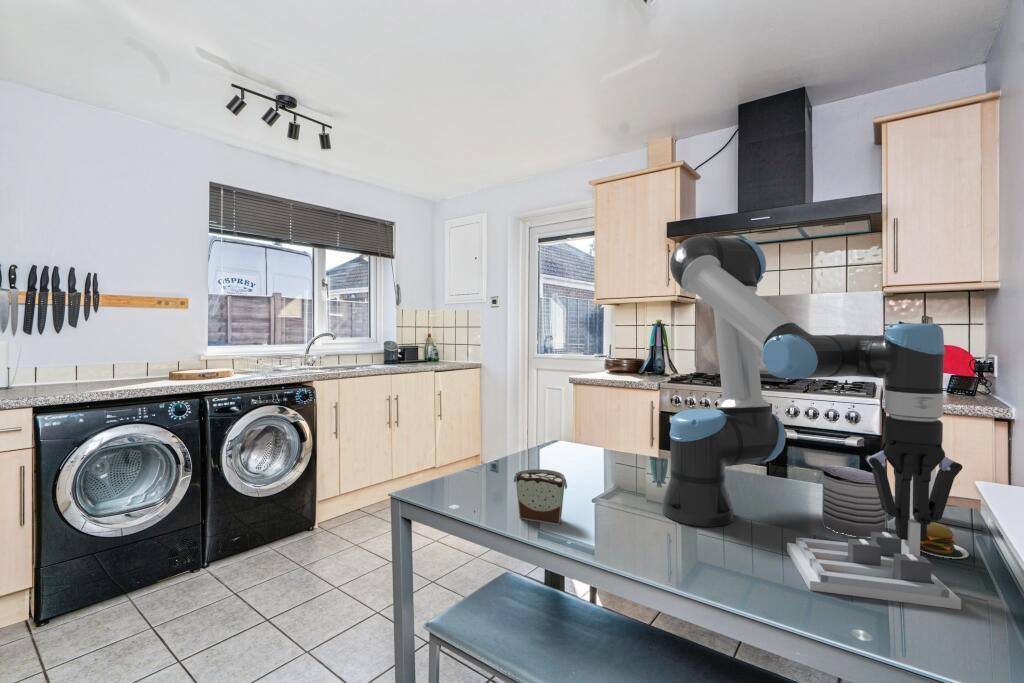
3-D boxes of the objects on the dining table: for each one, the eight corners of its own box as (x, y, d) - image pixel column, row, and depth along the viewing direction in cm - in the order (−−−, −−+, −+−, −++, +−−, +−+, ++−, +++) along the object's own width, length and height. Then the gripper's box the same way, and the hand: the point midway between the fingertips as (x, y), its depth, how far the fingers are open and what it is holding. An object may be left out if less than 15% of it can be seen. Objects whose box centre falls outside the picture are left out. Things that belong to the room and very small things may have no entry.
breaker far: (876, 559, 87) (876, 535, 87) (870, 553, 89) (870, 530, 89) (903, 562, 86) (903, 538, 86) (897, 556, 88) (897, 533, 88)
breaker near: (900, 585, 78) (900, 558, 78) (893, 577, 80) (893, 552, 80) (930, 588, 77) (931, 561, 77) (922, 581, 79) (923, 555, 79)
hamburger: (955, 572, 87) (956, 541, 87) (882, 545, 98) (883, 517, 98) (994, 561, 92) (995, 531, 91) (920, 536, 103) (921, 509, 103)
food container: (574, 516, 112) (574, 472, 112) (565, 526, 107) (565, 479, 106) (524, 508, 117) (524, 466, 117) (513, 517, 112) (513, 472, 111)
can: (828, 513, 113) (829, 461, 113) (890, 528, 105) (891, 471, 105) (814, 528, 105) (815, 471, 105) (880, 544, 97) (881, 483, 97)
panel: (809, 590, 80) (810, 573, 80) (786, 550, 95) (787, 536, 94) (960, 609, 74) (961, 591, 74) (912, 564, 89) (912, 549, 89)
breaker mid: (852, 567, 84) (853, 542, 84) (847, 561, 86) (847, 537, 86) (880, 570, 83) (880, 545, 83) (874, 564, 85) (874, 539, 85)
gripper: (876, 419, 80) (874, 564, 81) (975, 423, 77) (972, 575, 77) (858, 411, 87) (856, 544, 88) (947, 415, 84) (945, 554, 84)
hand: (910, 558), depth 83 cm, fingers closed
